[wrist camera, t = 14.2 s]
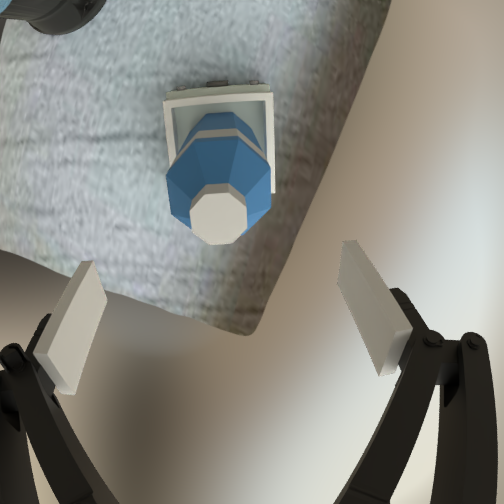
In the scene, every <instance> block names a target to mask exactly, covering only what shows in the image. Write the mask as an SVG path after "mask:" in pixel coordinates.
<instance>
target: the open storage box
mask: <svg viewBox="0 0 504 504" xmlns="http://www.w3.org/2000/svg"><path fill="white" fill-rule="evenodd" d="M166 98H167V100H165V101H163V110H164V119H165V129H166V137H167V146H168V154H169V162H170V167H171V165H172V163H173V161H174V159H175V157H176V156H177V154H178V152H179V150H180V148H181V146H182V145H183V143H184V141H185V139H186V138H187V136H188V134H189V132H190V131H191V130H192V129H193V128H194V127H195V126H196V125H197V123H198V122H199V121H200V120H201V119H202V118H203V117H204V116H205V115H206V114H208V113H223V112H233V113H234V114H236V115H237V116H238V117H239V118H240V119H241V120H242V121H244V122H245V123H246V124H247V125H248V126H249V127H250V128H251V129H252V130H253V132H254V134H255V136H256V138H257V140H258V143H259V145H260V147H261V149H262V151H263V153H264V155H265V157H266V159H267V161H268V163H269V165H270V167H271V193H275V154H274V111H273V93H272V92H270V85H269V84H258V80H257V81H250V84H240V85H228V80H226V81H212V82H207V87H201V88H191V89H186V87H185V86H180V87H177V90H174V91H170V92H167V93H166Z"/></svg>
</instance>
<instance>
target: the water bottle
mask: <svg viewBox="0 0 504 504" xmlns="http://www.w3.org/2000/svg"><path fill="white" fill-rule="evenodd" d="M166 180H167V187H168V195H169V202H170V209H171V214H172V215H173V216H174V217H176V218H177V219H178V220H180V221H181V222H182V223H184V224H185V225H186V226H188V227H189V228H190V229H192V232H193V233H194V234H195V235H197V236H198V237H199V238H201V239H202V240H204V241H205V242H206V243H208V244H209V245H216V244H232V243H233V242H234V241H235V240H236V239H237V238H238V237H239V236H240V235H244V234H245V233H246V232H247V231H248V230H249V229H250V228H251V227H252V226H253V225H254V224H255V223H256V222H257V221H258V220H259V219H260V218H261V217H262V216H263V215H264V214H265V213H266V212H267V211H268V210H269V209H270V208H271V167H270V165H269V163H268V161H267V159H266V157H265V155H264V153H263V151H262V149H261V147H260V145H259V143H258V140H257V138H256V136H255V134H254V132H253V130H252V129H251V128H250V127H249V126H248V125H247V124H246V123H245V122H244V121H242V120H241V119H240V118H239V117H238V116H237V115H236V114H234V113H233V112H223V113H208V114H206V115H205V116H204V117H203V118H202V119H201V120H200V121H199V122H198V123H197V125H196V126H195V127H194V128H193V129H192V130H191V131H190V132H189V134H188V136H187V138H186V139H185V141H184V143H183V145H182V146H181V148H180V150H179V152H178V154H177V156H176V157H175V159H174V161H173V163H172V165H171V167H170V168H169V170H168V172H167V174H166Z"/></svg>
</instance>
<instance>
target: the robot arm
mask: <svg viewBox="0 0 504 504" xmlns="http://www.w3.org/2000/svg"><path fill="white" fill-rule="evenodd" d="M105 2H106V0H0V18H3V19H17V20H26V21H27V22H28V23H29V24H30V25H31V26H32V27H33V28H34V29H35V30H37V31H39V32H41V33H44V34H50V35H63V34H67V33H70V32H73V31H75V30H77V29H79V28H81V27H82V26H84V25H85V24H87V23H88V22H89V21H90V20H92V19H93V18H94V17H95V16H96V15H97V13H98V12H99V11H100V10H101V8H102V7H103V5H104V4H105ZM337 284H338V286H339V288H340V290H341V293H342V295H343V297H344V299H345V301H346V303H347V305H348V308H349V310H350V312H351V314H352V316H353V318H354V320H355V323H356V325H357V327H358V329H359V332H360V334H361V336H362V339H363V341H364V343H365V345H366V348H367V350H368V352H369V355H370V357H371V359H372V362H373V364H374V366H375V369H376V371H377V373H378V376H384V375H388V374H393V373H395V371H396V368H397V366H398V365H399V367H400V369H401V371H402V372H401V374H400V376H399V378H398V381H397V383H396V385H395V388H394V391H393V393H392V396H391V398H390V400H389V402H388V404H387V407H386V409H385V411H384V413H383V415H382V417H381V420H380V422H379V424H378V426H377V428H376V430H375V432H374V434H373V436H372V438H371V440H370V442H369V443H368V446H367V447H366V449H365V451H364V453H363V455H362V457H361V458H360V460H359V462H358V464H357V466H356V467H355V469H354V471H353V473H352V474H351V476H350V478H349V479H348V481H347V483H346V484H345V486H344V488H343V489H342V491H341V492H340V494H339V496H338V497H337V499H336V500H335V502H334V503H333V504H390V499H391V496H392V494H393V492H394V490H395V488H396V486H397V484H398V482H399V480H400V478H401V476H402V473H403V471H404V469H405V467H406V464H407V462H408V460H409V457H410V455H411V453H412V450H413V447H414V445H415V443H416V440H417V438H418V435H419V432H420V430H421V427H422V424H423V421H424V418H425V415H426V413H427V410H428V407H429V403H430V400H431V397H432V394H433V391H434V387H435V385H440V409H439V412H440V413H439V432H438V445H437V456H436V466H435V474H434V482H433V489H432V495H431V501H430V504H496V495H497V474H498V473H497V472H498V471H497V470H498V445H497V444H498V442H497V423H496V422H497V421H496V408H495V398H494V388H493V381H492V373H491V367H490V360H489V354H488V349H487V344H486V341H485V340H484V338H483V337H482V336H480V335H479V334H477V333H474V332H467V333H465V334H464V335H463V336H462V338H461V340H445V339H444V337H443V336H442V335H441V334H440V333H438V332H436V331H434V330H429V328H428V327H427V325H426V324H425V322H424V321H423V319H422V318H421V316H420V314H419V313H418V311H417V310H416V309H415V307H414V305H413V304H412V303H411V301H410V299H409V298H408V296H407V295H406V294H405V293H404V292H403V291H401V290H400V289H399V288H392V289H388V287H387V286H386V284H385V283H384V281H383V279H382V278H381V276H380V275H379V273H378V272H377V270H376V269H375V267H374V266H373V264H372V263H371V261H370V260H369V258H368V257H367V255H366V254H365V252H364V251H363V249H362V248H361V247H360V245H359V243H358V242H357V241H356V240H351V241H343V243H342V252H341V260H340V268H339V275H338V282H337ZM106 303H107V298H106V295H105V292H104V290H103V287H102V284H101V281H100V278H99V276H98V273H97V270H96V267H95V264H94V261H81V263H80V265H79V266H78V268H77V270H76V271H75V273H74V275H73V277H72V278H71V280H70V282H69V284H68V285H67V287H66V289H65V291H64V292H63V294H62V296H61V298H60V300H59V302H58V303H57V305H56V307H55V309H54V311H53V313H52V314H47V315H46V316H45V317H44V318H43V319H42V320H41V322H40V323H39V325H38V327H37V330H36V331H35V333H34V336H33V337H32V339H31V341H30V343H29V345H28V347H27V349H26V351H25V352H24V351H23V349H22V347H21V346H20V345H19V344H17V343H11V344H9V345H7V346H5V347H4V348H3V349H2V350H1V352H0V364H1V365H2V366H3V368H4V369H5V370H1V371H0V504H39V500H38V496H37V491H36V487H35V483H34V478H33V473H32V468H31V462H30V456H29V450H28V444H27V436H26V432H27V435H28V438H29V440H30V443H31V445H32V447H33V450H34V452H35V455H36V457H37V459H38V461H39V464H40V466H41V468H42V470H43V472H44V475H45V477H46V479H47V481H48V483H49V485H50V487H51V489H52V491H53V493H54V494H55V496H56V498H57V500H58V502H59V504H119V502H118V501H117V500H116V498H115V497H114V495H113V494H112V493H111V491H110V490H109V489H108V487H107V485H106V484H105V482H104V481H103V479H102V478H101V477H100V475H99V473H98V472H97V470H96V469H95V467H94V465H93V464H92V462H91V460H90V459H89V457H88V456H87V454H86V452H85V450H84V449H83V447H82V445H81V444H80V442H79V440H78V438H77V436H76V435H75V433H74V431H73V429H72V427H71V426H70V423H69V422H68V420H67V418H66V416H65V414H64V412H63V410H62V408H61V406H60V403H59V401H58V399H57V397H56V396H55V394H54V393H53V392H54V389H55V386H56V387H57V389H58V390H59V391H60V393H61V394H68V395H75V393H76V390H77V386H78V383H79V380H80V377H81V374H82V370H83V367H84V364H85V361H86V358H87V355H88V352H89V350H90V346H91V344H92V341H93V338H94V335H95V333H96V330H97V327H98V324H99V322H100V319H101V316H102V314H103V311H104V309H105V306H106Z"/></svg>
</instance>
